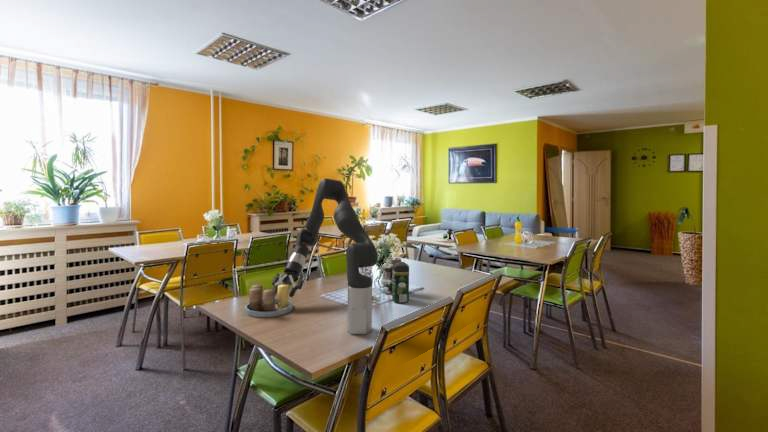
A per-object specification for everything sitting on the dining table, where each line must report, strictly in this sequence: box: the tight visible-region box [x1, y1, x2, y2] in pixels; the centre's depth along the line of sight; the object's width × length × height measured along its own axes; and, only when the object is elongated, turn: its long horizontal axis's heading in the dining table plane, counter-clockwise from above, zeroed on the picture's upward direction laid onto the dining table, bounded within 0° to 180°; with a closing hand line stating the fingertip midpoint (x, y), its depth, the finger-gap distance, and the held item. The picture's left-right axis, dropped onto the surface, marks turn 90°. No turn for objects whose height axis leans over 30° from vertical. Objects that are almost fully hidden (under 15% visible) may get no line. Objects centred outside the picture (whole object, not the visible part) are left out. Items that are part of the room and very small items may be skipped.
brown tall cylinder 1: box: [250, 284, 264, 310], centre depth 163 cm, size 5×5×10 cm
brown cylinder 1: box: [248, 287, 262, 312], centre depth 158 cm, size 5×5×10 cm
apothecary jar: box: [380, 257, 403, 295], centre depth 191 cm, size 12×12×18 cm
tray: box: [244, 297, 294, 318], centre depth 162 cm, size 20×20×2 cm
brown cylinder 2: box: [263, 288, 276, 312], centre depth 156 cm, size 5×5×10 cm
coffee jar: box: [391, 261, 410, 304], centre depth 177 cm, size 10×8×19 cm
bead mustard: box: [277, 284, 289, 310], centre depth 164 cm, size 5×5×10 cm
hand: (282, 295), depth 163 cm, fingers open, 8 cm apart
